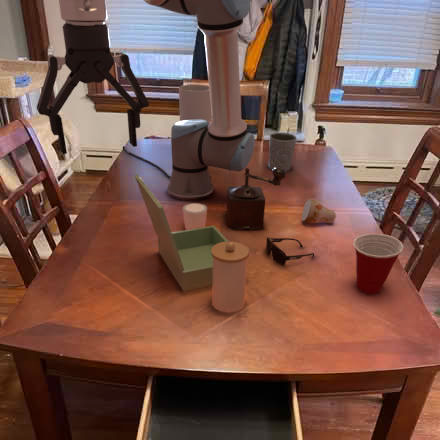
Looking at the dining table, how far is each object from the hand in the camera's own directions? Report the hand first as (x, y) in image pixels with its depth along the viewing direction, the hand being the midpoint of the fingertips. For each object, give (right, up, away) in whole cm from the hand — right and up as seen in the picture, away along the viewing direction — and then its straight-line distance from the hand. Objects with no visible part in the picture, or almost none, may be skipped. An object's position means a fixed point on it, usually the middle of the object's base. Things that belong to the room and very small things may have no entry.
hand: (99, 148), depth 90 cm
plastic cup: (+59, -27, +20) cm, 68 cm away
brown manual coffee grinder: (+33, -7, +48) cm, 59 cm away
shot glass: (+16, -10, +43) cm, 47 cm away
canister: (+25, -31, +13) cm, 42 cm away
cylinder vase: (+14, +30, +101) cm, 106 cm away
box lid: (+10, -12, +15) cm, 21 cm away
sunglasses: (+42, -19, +32) cm, 56 cm away
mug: (+53, -7, +49) cm, 73 cm away
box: (+19, -22, +26) cm, 39 cm away
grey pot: (+47, +20, +88) cm, 102 cm away
